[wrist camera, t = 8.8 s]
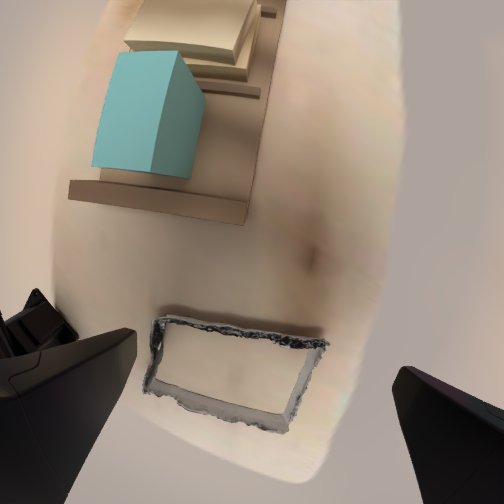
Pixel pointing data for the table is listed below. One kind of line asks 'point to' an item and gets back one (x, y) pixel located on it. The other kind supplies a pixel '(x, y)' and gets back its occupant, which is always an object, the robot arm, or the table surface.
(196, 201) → the rack
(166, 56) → the teal rectangular block
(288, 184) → the table surface
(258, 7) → the offcut low
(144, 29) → the offcut top
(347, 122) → the table surface
